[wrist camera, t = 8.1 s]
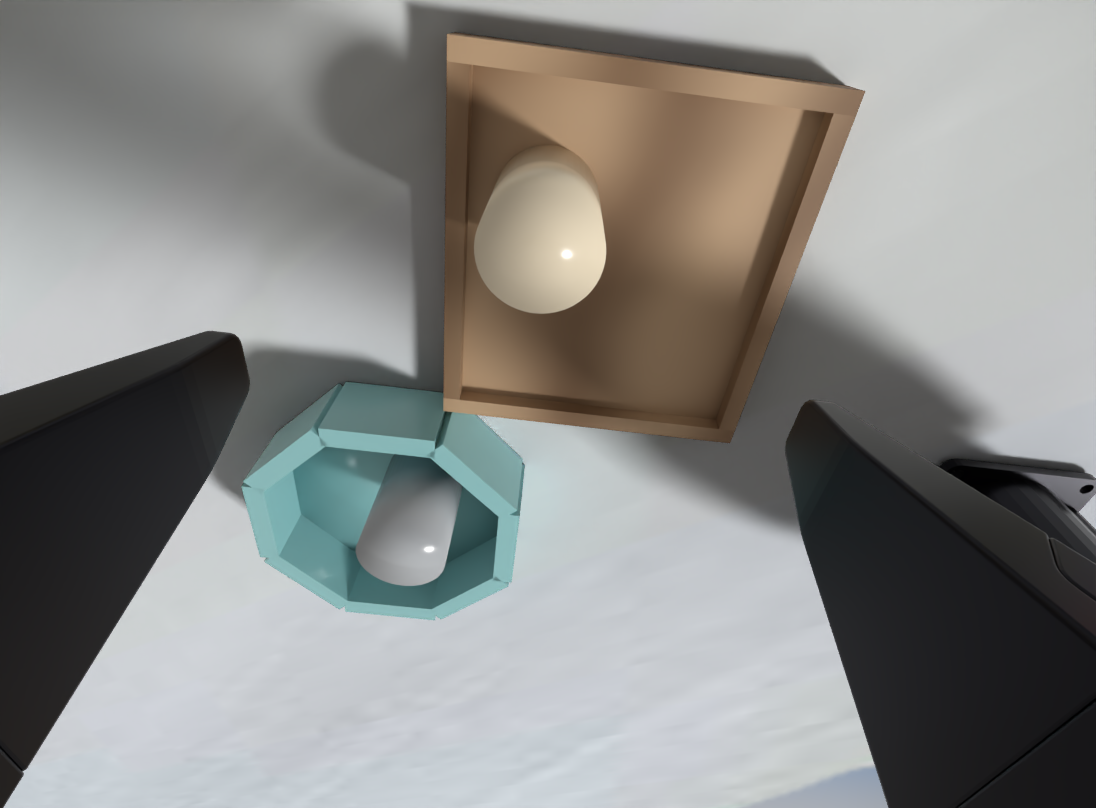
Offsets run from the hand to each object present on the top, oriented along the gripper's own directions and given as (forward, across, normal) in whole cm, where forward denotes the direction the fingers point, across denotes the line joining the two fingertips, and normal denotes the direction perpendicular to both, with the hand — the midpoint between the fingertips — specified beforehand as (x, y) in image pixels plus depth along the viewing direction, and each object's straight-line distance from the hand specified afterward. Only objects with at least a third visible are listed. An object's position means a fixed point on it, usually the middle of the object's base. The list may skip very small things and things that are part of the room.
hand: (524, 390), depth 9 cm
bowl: (+11, +5, +13) cm, 18 cm away
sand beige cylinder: (+10, 0, 0) cm, 10 cm away
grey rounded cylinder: (+10, +4, +12) cm, 16 cm away
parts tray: (+11, -2, +2) cm, 11 cm away
